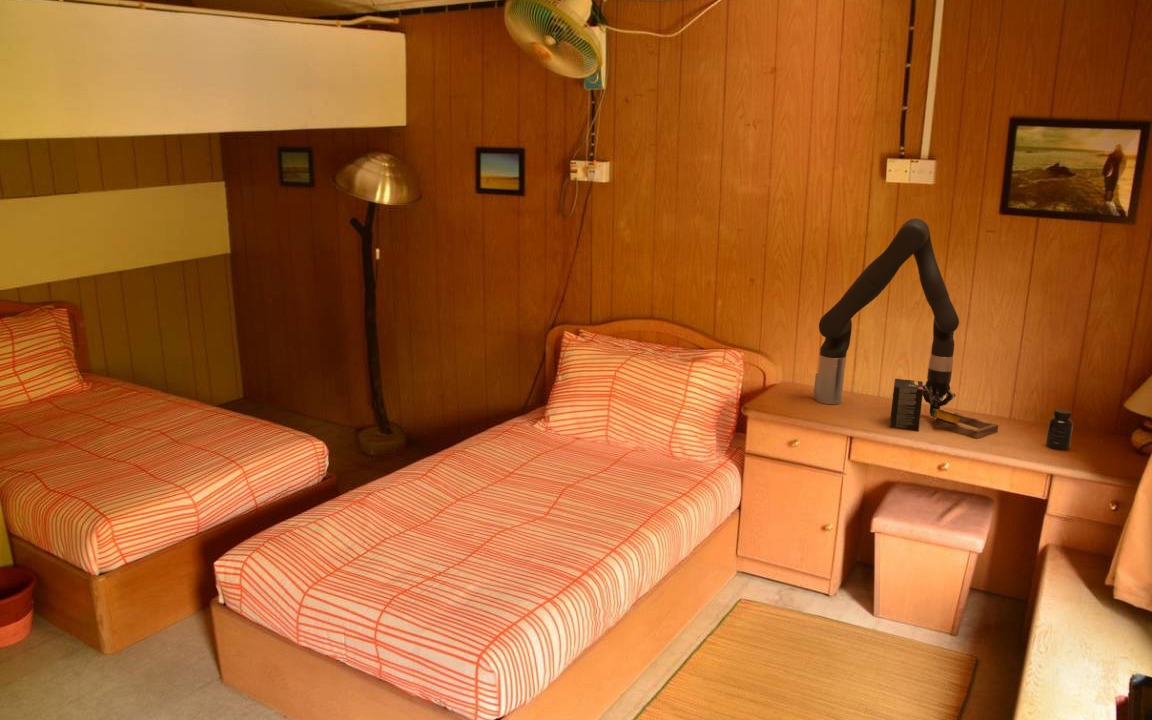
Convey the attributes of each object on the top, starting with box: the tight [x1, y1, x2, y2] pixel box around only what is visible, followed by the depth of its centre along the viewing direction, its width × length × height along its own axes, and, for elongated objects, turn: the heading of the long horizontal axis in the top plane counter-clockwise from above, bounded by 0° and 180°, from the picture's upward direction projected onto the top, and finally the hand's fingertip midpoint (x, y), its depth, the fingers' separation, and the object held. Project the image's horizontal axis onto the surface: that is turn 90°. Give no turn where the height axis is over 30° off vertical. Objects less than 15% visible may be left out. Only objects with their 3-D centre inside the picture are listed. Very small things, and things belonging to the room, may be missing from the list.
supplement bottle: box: [1045, 408, 1074, 451], centre depth 291 cm, size 7×7×12 cm
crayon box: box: [929, 408, 960, 425], centre depth 308 cm, size 7×3×12 cm
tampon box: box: [889, 378, 924, 432], centre depth 308 cm, size 11×9×15 cm
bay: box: [933, 412, 999, 440], centre depth 307 cm, size 16×12×2 cm
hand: (934, 415), depth 317 cm, fingers closed
